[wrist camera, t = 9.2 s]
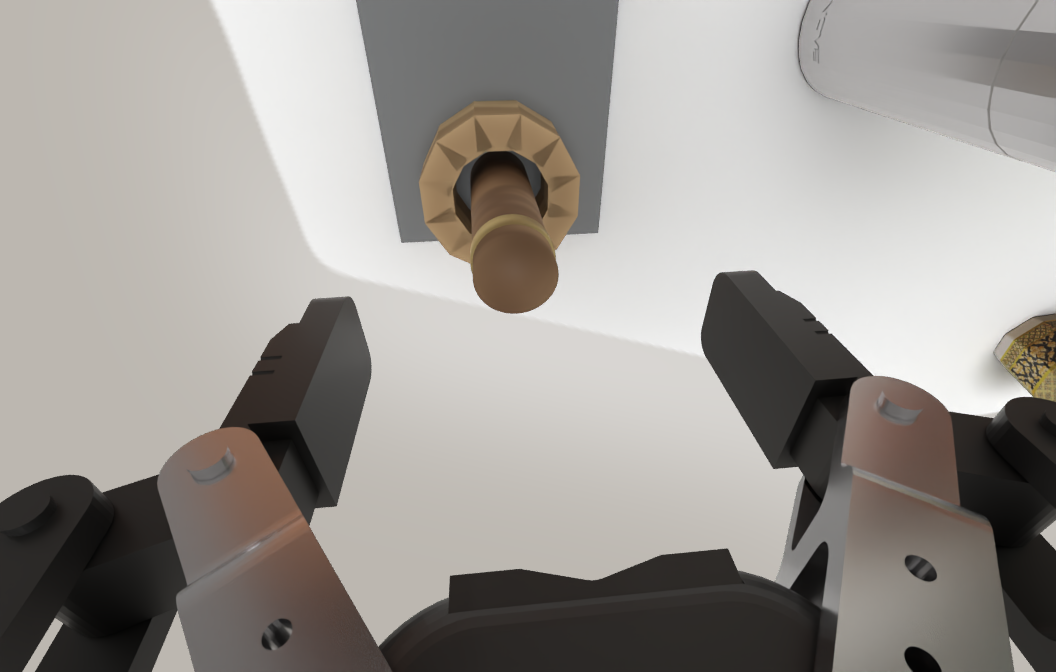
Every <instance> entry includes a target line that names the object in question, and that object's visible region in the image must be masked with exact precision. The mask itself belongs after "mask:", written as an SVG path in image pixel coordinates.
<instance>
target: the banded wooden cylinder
mask: <svg viewBox="0 0 1056 672" xmlns="http://www.w3.org/2000/svg"><path fill="white" fill-rule="evenodd" d="M470 187H471V223H472V244H471V250H470V260H471V270H472V274H473V283H474V287H475V290H476V292H477V294H478V296H479V297H480V299H481V300H482V301H483V302H484V303H485V304H487V305H488V306H489V307H491V308H493V309H495V310H497V311H500V312H504V313H524V312H528V311H531V310H533V309H535V308H537V307H539V306H540V305H542V304H543V303H544V302H546V301H547V300H548V299H549V298H550V296H551V295H552V294H553V292H554V290H555V288H556V286H557V282H558V266H557V263H556V256H555V250H554V247H553V244H552V241H551V239H550V236H549V234H548V232H547V231H546V229H545V227H544V224H543V221H542V218H541V215H540V212H539V209H538V206H537V203H536V199H535V196H534V193H533V190H532V187H531V184H530V181H529V178H528V175H527V172H526V169H525V167H524V165H523V163H522V162H521V160H520V159H519V158H518V157H517V156H516V155H514V154H512V153H510V152H508V151H489V152H487V153H485V154H483V155H482V156H480V157H479V158H478V159H477V161H476V162H475V163H474V165H473V167H472V170H471V175H470Z"/></svg>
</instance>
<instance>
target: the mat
mask: <svg viewBox="0 0 1056 672" xmlns="http://www.w3.org/2000/svg"><path fill="white" fill-rule="evenodd" d="M356 2H357V8H358V13H359V18H360V24H361V29H362V34H363V40H364V45H365V50H366V56H367V61H368V66H369V72H370V77H371V82H372V88H373V93H374V98H375V104H376V109H377V114H378V120H379V125H380V130H381V136H382V141H383V146H384V152H385V157H386V162H387V168H388V173H389V178H390V184H391V189H392V194H393V200H394V205H395V210H396V216H397V221H398V226H399V232H400V237H401V242H402V243H404V242H424V241H439V240H438V239H437V238H436V237H435V235H434V234H433V233H432V232H431V230H430V229H429V228H428V226H427V225H426V224H425V220H424V213H423V207H422V200H421V193H420V187H419V180H420V176H421V172H422V168H423V164H424V161H425V159H426V156H427V154H428V152H429V149H430V147H431V145H432V142H433V140H434V137H435V135H436V133H437V130H438V128H439V126H440V124H442V123H443V122H445V121H446V120H448V119H449V118H451V117H452V116H453V115H455V114H456V113H458V112H459V111H461V110H462V109H464V108H465V107H466V106H468V105H469V104H471V103H472V102H474V101H503V100H516V101H518V102H520V103H521V104H523V105H525V106H526V107H528V108H530V109H531V110H533V111H535V112H536V113H538V114H540V115H541V116H543V117H545V118H546V119H548V120H550V121H551V122H552V124H553V126H554V127H555V129H556V131H557V133H558V134H559V136H560V138H561V140H562V142H563V144H564V146H565V148H566V149H567V151H568V153H569V155H570V157H571V159H572V161H573V163H574V165H575V167H576V169H577V171H578V173H579V174H580V186H579V203H578V217H577V218H576V220H575V221H574V223H573V224H572V226H571V227H570V229H569V231H568V232H567V234H586V233H598V227H599V216H600V205H601V194H602V182H603V171H604V160H605V149H606V137H607V126H608V115H609V103H610V92H611V81H612V70H613V58H614V47H615V36H616V25H617V13H618V2H619V0H356ZM488 152H489V151H488ZM508 152H510V153H512V154H514V155H516V156H517V157H518V158H519V159H520V160H521V162H522V163H523V165H524V167H525V169H526V172H527V175H528V178H529V181H530V184H531V187H532V190H533V193H534V196H535V197H536V196H537V194H538V192H539V190H540V189H541V172H540V170H539V168H538V167H537V165H536V163H534V162H532V161H530V160H529V159H527V158H525V157H523V156H521V155H520V154H518V153H516V152H514V151H508ZM485 153H487V152H484V153H483V154H485ZM483 154H481V155H480V156H482V155H483ZM480 156H478V157H477V158H475V159H474V160H472V161H471V162H469V163H468V164H466V165H465V166H463V168H462V171H461V173H460V175H459V177H458V179H457V181H456V189H457V193H458V194H459V196H460V197H461V198H462V200H463V201H464V203H465V204H466V205H467V207H468V208H469V210H471V187H470V175H471V170H472V167H473V165H474V163H475V162H476V161H477V159H478V158H479V157H480Z"/></svg>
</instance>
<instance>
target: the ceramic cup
mask: <svg viewBox="0 0 1056 672" xmlns="http://www.w3.org/2000/svg"><path fill="white" fill-rule="evenodd" d="M994 354H995V356H996V357H997V359H998V360H999V361H1000V362H1001V364H1002V365H1003V366H1004V367H1005V368H1006V369H1007V370H1008V372H1009V373H1010V374H1011V375H1012V376H1013V377H1014V378H1016V379H1017V380H1018V382H1019V383H1020V384H1021V385H1022V386H1023V387H1024V388H1025V389H1026V390H1027V391H1028V392H1029V393H1030V394H1031V395H1032V396H1033V397H1035V398H1042V399H1047V400H1051V401H1054V402H1056V314H1053V315H1046V316H1039V317H1033V318H1031V319H1029V320H1028V321H1026V322H1024V323H1023V324H1021V325H1019V326H1018V327H1016V328H1015V329H1013V330H1011V331H1010V332H1008V333H1007V334H1005V335H1004V337H1003V338H1002V340H1001V342H1000V343H999V345H998V346H997V348H996V349H995V351H994Z"/></svg>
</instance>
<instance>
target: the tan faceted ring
mask: <svg viewBox="0 0 1056 672" xmlns="http://www.w3.org/2000/svg"><path fill="white" fill-rule="evenodd" d="M488 151H514V152H516V153H518V154H520V155H521V156H523V157H525V158H527V159H529V160H530V161H532V162H534V163H536V165H537V167H538V168H539V170H540V172H541V189H540V190H539V192H538V194H537V196H536V197H535V199H536V203H537V206H538V209H539V212H540V215H541V218H542V221H543V224H544V227H545V229H546V231H547V232H548V234H549V236H550V239H551V241H552V244H553V247H554V250H556V249H557V248H558V246H559V245H560V243H561V242H562V240H563V238H564V237H565V235H566V234H567V232H568V231H569V229H570V227H571V226H572V224H573V223H574V221H575V220H576V218H577V217H578V203H579V186H580V174H579V173H578V171H577V169H576V167H575V165H574V163H573V161H572V159H571V157H570V155H569V153H568V151H567V149H566V148H565V146H564V144H563V142H562V140H561V138H560V136H559V134H558V133H557V131H556V129H555V127H554V126H553V124H552V122H551V121H550V120H548V119H546V118H545V117H543V116H541V115H540V114H538V113H536V112H535V111H533V110H531V109H530V108H528V107H526V106H525V105H523V104H521V103H520V102H518V101H516V100H503V101H474V102H472V103H471V104H469V105H468V106H466V107H465V108H464V109H462V110H461V111H459V112H458V113H456V114H455V115H453V116H452V117H451V118H449V119H448V120H446V121H445V122H443V123H442V124H440V126H439V128H438V130H437V133H436V135H435V137H434V140H433V142H432V145H431V147H430V149H429V152H428V154H427V156H426V159H425V161H424V164H423V168H422V172H421V176H420V180H419V187H420V193H421V200H422V207H423V213H424V220H425V224H426V225H427V226H428V228H429V229H430V230H431V232H432V233H433V234H434V235H435V237H436V238H437V239H438V240H439V242H440V243H441V244H442V245H443V247H444V248H445V249H446V250H447V252H448V253H449V254H450V255H452V256H454V257H456V258H459V259H461V260H463V261H466V262H468V263H470V264H471V260H470V250H471V244H472V223H471V210H469V208H468V207H467V205H466V204H465V203H464V201H463V200H462V198H461V197H460V196H459V194H458V193H457V189H456V181H457V179H458V177H459V175H460V173H461V171H462V168H463V166H465V165H466V164H468V163H469V162H471V161H472V160H474V159H475V158H477V157H478V156H480V155H481V154H483V153H484V152H488Z"/></svg>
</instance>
